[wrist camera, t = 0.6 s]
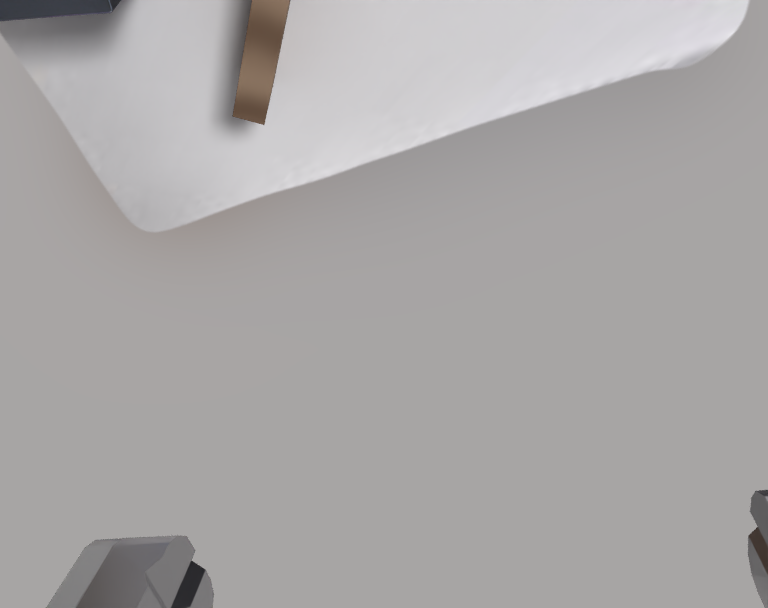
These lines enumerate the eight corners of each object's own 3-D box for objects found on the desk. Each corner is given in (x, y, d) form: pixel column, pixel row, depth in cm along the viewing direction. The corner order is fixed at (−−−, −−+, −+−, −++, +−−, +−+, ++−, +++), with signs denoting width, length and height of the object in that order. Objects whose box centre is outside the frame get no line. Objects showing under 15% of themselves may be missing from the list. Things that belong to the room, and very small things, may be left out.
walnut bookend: (276, -103, 46) (265, -81, 40) (309, -91, 46) (303, -68, 40) (245, 76, 54) (232, 116, 48) (273, 84, 55) (264, 124, 49)
